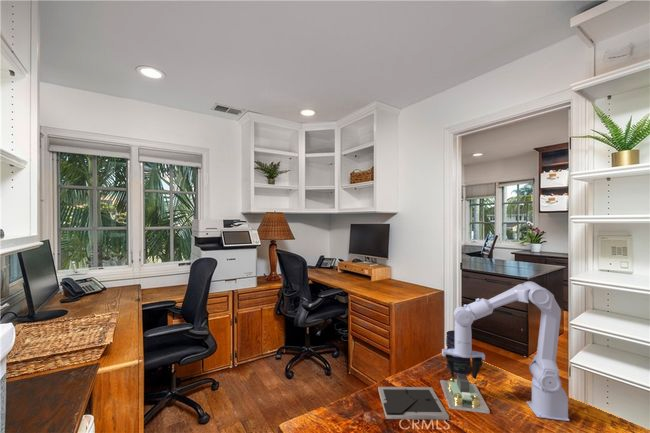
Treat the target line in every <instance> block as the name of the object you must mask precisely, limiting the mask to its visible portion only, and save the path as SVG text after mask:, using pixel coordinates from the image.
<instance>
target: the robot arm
mask: <svg viewBox="0 0 650 433" xmlns="http://www.w3.org/2000/svg"><path fill="white" fill-rule="evenodd" d="M529 301H530V302H531V303H532V304H534V305H535V307H537V308H538V310H540V311H541V313H540V319H539V320H540V322H539V330H538V339H537V348H536V354H535V355H533V358H532V361H531V363H530V364H529V366H528V367H529V368H528V369H529V372H530V373H531V375H532V378H531V401H530V400H529V401H528V400H526V404H527V405H528V407H529V408H530V409H531V411H532V412H533V413H534V415H535V416H536V418H537V417H538V418H540V419H542V418H543V419H550V420H555V421H557V420H558V421H562V422H563V421H564V422H565V421H566V422H570V418H569V399H568V395H567V393H566V391H565V390H564V388H563V387H562V380H561V378H560V370H559V367H558V364H557V353H558V344H559V335H560V325H561V317H562V309H561V307H560V306H559V303H558V302H557V300H556V298H555V295H554V294H553V293H552V292H551V291H550V290H548V289H547V288H546V287H542V286H541V285H539V284H538V283H536V282H534V281H530V280H529V281H525V282H523V283H519V284H517V285H515V286H513V287H512V288H509V289H508V290H505V291H503V292H502V293H500V294H497V295H495V296H494V297H491V298H489V299H486V298H483V297H482V298H479V297H478V298H475V301H474V302H471V303H468V304H463V306H457V307H456V308H455V309H454V311H453V317H454V318H455V320H454V331H455V349H447V348H442V349H441V355H442V357H445V360H446V359H447V361H448V364H449V368H450V370H449V372H450V376H451V378H454V377H455V373H454V360H453V357H452V356H454V357H463V358H470V359H471V366H472V367H471V368H472V371H471V375H472V378H473V379H474V380H476V379H477V376H478V373H479V370H480V369H481V367H482V366H483V365H484V363H483V361H486V354H485V353H484V352H481V351H476V350H472V344H473V343H472V341H473V340H472V337H473V336H472V324H473V323H474V321H477V320H479V319H481V318H484V317H487V316H489V315H491V314H493V311H494V310H495V309H496V308H497V309H498V308H499V307H502V306H505V305H508V304H511V303H514V302H522V303H525V304H529ZM447 361H446V362H447Z"/></svg>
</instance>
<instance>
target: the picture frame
mask: <svg viewBox="0 0 650 433" xmlns="http://www.w3.org/2000/svg"><path fill="white" fill-rule="evenodd" d="M377 387H378V388H377V391H378V393H379V398H380V402H381V405H382V408H383V411H384V415H385V419H386V420H432V419H433V420H435V421H436V420H438V421H441V420H444V421H445V420H447V421H448V420H450V416H449V414H448V412H447V410H446V409H445V407H444V405H443V404H442V402H441V400H440V398H439V397H438V395H437V394H436V392H435V391H434V388H433V387H432V386H431V387H428V386H377Z"/></svg>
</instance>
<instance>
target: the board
mask: <svg viewBox="0 0 650 433" xmlns="http://www.w3.org/2000/svg"><path fill="white" fill-rule="evenodd" d="M453 380H454V381H455V382H449V384H450V386H451V389H452V391H453V394H454V395H457V393H459V394H460V395H461V397H462V399H463V400H469V401H473V399H472V397H474V395H476V397H477V398H478V395H477V394H476V392H475V390H474V388H473V386H472V384H469V382H470V381H469V379H468V377H467V374H457V373H456V378H453Z"/></svg>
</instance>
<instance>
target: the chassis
mask: <svg viewBox="0 0 650 433" xmlns="http://www.w3.org/2000/svg"><path fill="white" fill-rule="evenodd" d="M439 382H440V386H441V388H442V392H443V394H444V398H445V400H446V402H447V405H448V409H449V410H451V409H452V410H458V411H466V412H475V413H480V414H481V413H483V414H491V411H490V408H489V406H488V404H487V403H486V401H485V400H484V398H483V396H482V394H481V392H480V391H479V388H478V387H477V385H476V383H473V382H470V381H469V384H472V386H473V388H474V390H475V392H476V394H477V395H478V398H477V397H476V395H474V397H472V399H473V401H469V400H463V399H462V397H461V395H460V394H459V393H457V395H454V394H453V391H452V389H451V386H450V384H449V382H455V381H454V377H451V378H450V379H448V380H444V379H440V380H439Z"/></svg>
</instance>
